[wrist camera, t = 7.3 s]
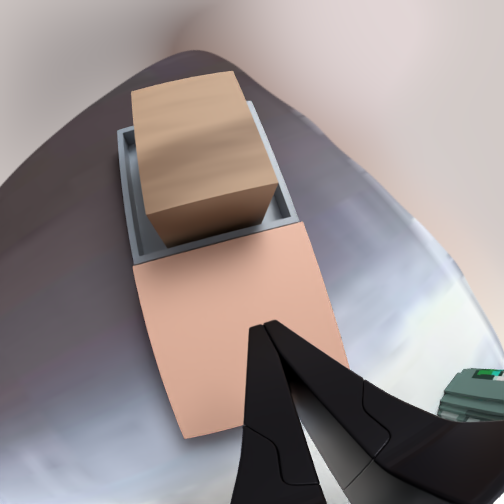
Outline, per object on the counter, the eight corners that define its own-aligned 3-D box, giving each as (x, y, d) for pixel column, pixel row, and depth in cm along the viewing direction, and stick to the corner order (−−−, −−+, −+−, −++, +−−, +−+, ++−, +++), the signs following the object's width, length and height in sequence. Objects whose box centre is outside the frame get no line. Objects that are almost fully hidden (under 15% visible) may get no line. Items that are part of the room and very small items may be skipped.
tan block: (278, 182, 13) (232, 70, 14) (146, 214, 12) (131, 91, 13) (260, 226, 18) (228, 129, 20) (168, 250, 17) (149, 148, 19)
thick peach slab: (337, 377, 17) (353, 383, 15) (188, 424, 15) (184, 439, 13) (292, 234, 19) (302, 221, 17) (143, 274, 17) (132, 266, 15)
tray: (291, 231, 19) (299, 221, 17) (142, 271, 17) (134, 264, 15) (248, 117, 21) (251, 100, 19) (124, 145, 19) (117, 130, 17)
